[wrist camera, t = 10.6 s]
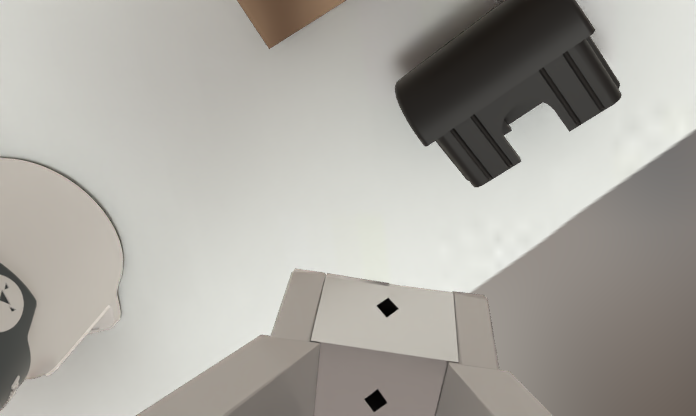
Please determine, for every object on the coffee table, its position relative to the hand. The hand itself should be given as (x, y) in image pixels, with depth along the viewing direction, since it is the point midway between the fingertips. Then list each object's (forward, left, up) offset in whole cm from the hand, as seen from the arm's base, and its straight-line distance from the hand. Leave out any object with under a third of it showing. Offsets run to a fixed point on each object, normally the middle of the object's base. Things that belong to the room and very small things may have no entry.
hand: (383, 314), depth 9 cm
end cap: (+2, -6, -29) cm, 30 cm away
